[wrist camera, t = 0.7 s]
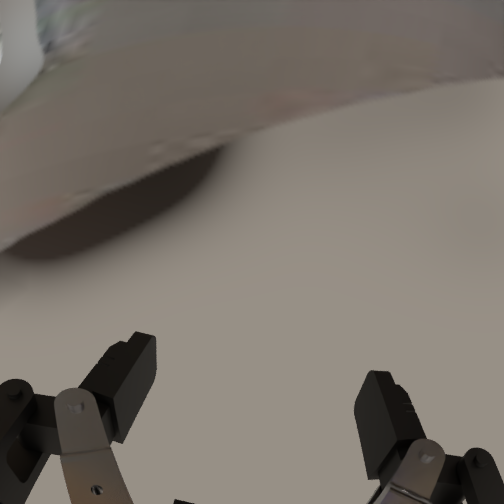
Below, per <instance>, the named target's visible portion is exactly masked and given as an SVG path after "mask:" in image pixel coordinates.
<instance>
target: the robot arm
mask: <svg viewBox="0 0 504 504" xmlns="http://www.w3.org/2000/svg"><path fill="white" fill-rule="evenodd" d="M156 364H157V363H156V337H155V336H153V335H149V334H145V333H140V332H135V333H134V334H133V335H132V336H131V338H130V339H129V340H128V342H123V341H119V342H118V343H116V344H114V345H112V346H110V347H109V348H108V350H107V351H106V352H105V353H104V355H103V357H101V358H100V360H99V361H98V364H96V365H95V366H94V367H93V369H92V370H91V371H90V373H89V374H88V375H87V376H86V378H85V379H84V381H83V382H82V383H81V384H80V386H79V387H78V388H69V389H66V390H64V391H62V392H60V393H59V394H58V395H57V396H56V397H54V396H46V395H40V394H34V392H33V389H32V387H31V385H30V384H29V383H28V382H26V381H24V380H21V379H11V380H8V381H6V382H4V383H2V384H1V385H0V504H25V502H26V500H27V498H28V496H29V494H30V492H31V490H32V488H33V486H34V484H35V482H36V480H37V479H38V477H39V475H40V473H41V471H42V469H43V467H44V465H45V464H46V462H47V460H48V458H49V456H50V455H51V454H55V455H60V460H61V465H62V469H63V473H64V478H65V482H66V486H67V489H68V493H69V496H70V500H71V503H72V504H133V501H132V499H131V497H130V495H129V492H128V490H127V487H126V485H125V483H124V480H123V478H122V475H121V473H120V471H119V468H118V465H117V462H116V460H115V457H114V454H113V451H112V449H111V447H110V445H111V443H112V441H116V442H118V443H121V444H123V442H124V440H125V438H126V436H127V434H128V432H129V430H130V428H131V426H132V424H133V422H134V420H135V418H136V416H137V414H138V412H139V410H140V408H141V406H142V404H143V402H144V400H145V398H146V396H147V394H148V392H149V390H150V388H151V386H152V384H153V382H154V379H155V376H156V370H157V365H156ZM354 415H355V420H356V424H357V429H358V433H359V437H360V442H361V447H362V452H363V457H364V461H365V466H366V472H367V476H368V480H373V479H379V480H380V485H379V486H378V487H377V489H376V490H375V492H374V494H373V495H372V496H371V498H370V499H369V501H368V502H367V504H463V503H462V501H463V500H464V499H466V501H467V504H504V483H503V480H502V478H501V476H500V473H499V471H498V468H497V466H496V464H495V461H494V459H493V457H492V456H491V454H489V452H487V451H486V450H484V449H482V448H471V449H470V450H468V451H467V452H466V454H465V455H464V456H463V457H460V456H453V455H447V454H445V452H444V450H443V448H442V447H441V446H440V445H439V444H438V443H436V442H435V441H433V440H429V439H427V438H426V435H425V433H424V431H423V428H422V426H421V423H420V421H419V418H418V416H417V414H416V413H415V409H414V407H413V405H412V402H411V400H410V398H409V396H408V393H407V392H406V391H405V390H404V389H403V388H402V387H401V386H400V385H395V382H394V380H393V378H392V376H391V373H390V372H388V371H374V370H371V371H369V373H368V374H367V376H366V379H365V381H364V383H363V385H362V388H361V390H360V392H359V394H358V396H357V398H356V401H355V406H354ZM174 504H194V503H189V502H185V501H181V500H176V499H175V500H174Z"/></svg>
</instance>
